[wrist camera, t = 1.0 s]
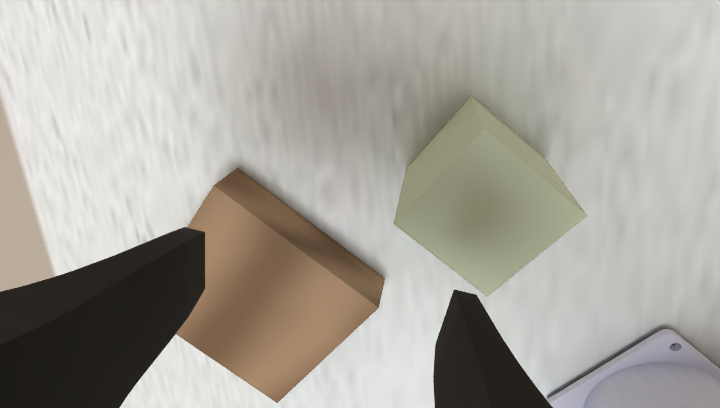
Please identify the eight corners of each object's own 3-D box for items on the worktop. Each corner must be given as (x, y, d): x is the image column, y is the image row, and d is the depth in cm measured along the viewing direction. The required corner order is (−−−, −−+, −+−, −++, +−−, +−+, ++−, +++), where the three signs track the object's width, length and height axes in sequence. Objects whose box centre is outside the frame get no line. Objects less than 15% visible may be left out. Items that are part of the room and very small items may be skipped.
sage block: (545, 158, 19) (587, 215, 14) (475, 223, 21) (487, 296, 15) (471, 95, 18) (484, 129, 13) (406, 168, 20) (393, 224, 15)
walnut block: (385, 274, 23) (378, 307, 21) (293, 365, 28) (277, 403, 25) (241, 165, 22) (213, 185, 20) (167, 277, 27) (136, 307, 24)
